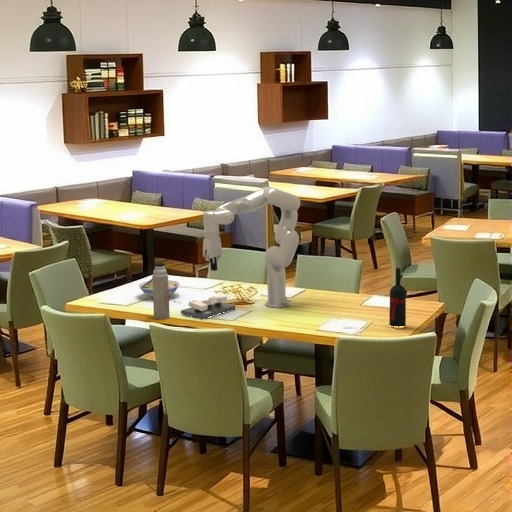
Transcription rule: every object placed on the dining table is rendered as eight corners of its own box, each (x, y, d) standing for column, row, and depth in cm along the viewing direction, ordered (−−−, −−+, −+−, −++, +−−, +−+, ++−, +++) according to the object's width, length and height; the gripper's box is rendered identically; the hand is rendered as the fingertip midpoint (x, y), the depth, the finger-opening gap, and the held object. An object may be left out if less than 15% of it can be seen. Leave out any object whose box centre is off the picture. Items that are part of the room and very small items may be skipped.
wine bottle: (384, 328, 458) (385, 267, 452) (393, 323, 466) (393, 263, 460) (399, 330, 454) (400, 269, 448) (408, 325, 462) (409, 265, 456)
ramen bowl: (171, 303, 514) (170, 288, 513) (132, 301, 520) (131, 286, 518) (186, 292, 538) (186, 278, 536) (148, 291, 544) (148, 277, 542)
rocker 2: (217, 302, 491) (216, 297, 491) (211, 304, 488) (210, 299, 488) (205, 305, 497) (204, 300, 497) (199, 306, 494) (198, 302, 494)
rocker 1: (207, 309, 486) (207, 304, 486) (201, 311, 483) (201, 306, 482) (194, 304, 492) (195, 299, 491) (188, 305, 488) (189, 301, 488)
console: (235, 310, 498) (235, 303, 497) (203, 319, 480) (203, 312, 479) (212, 305, 508) (212, 298, 507) (181, 315, 490) (180, 307, 489)
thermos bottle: (172, 316, 488) (170, 262, 482) (163, 320, 481) (161, 265, 475) (160, 314, 492) (158, 261, 486) (150, 318, 485) (148, 264, 479)
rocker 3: (227, 301, 497) (226, 296, 497) (221, 302, 494) (220, 297, 494) (214, 300, 503) (214, 296, 503) (208, 302, 500) (208, 297, 499)
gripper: (215, 231, 493) (218, 266, 497) (196, 237, 481) (198, 272, 485) (226, 233, 488) (229, 267, 492) (207, 238, 477) (209, 274, 481)
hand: (214, 270), depth 489 cm, fingers closed
